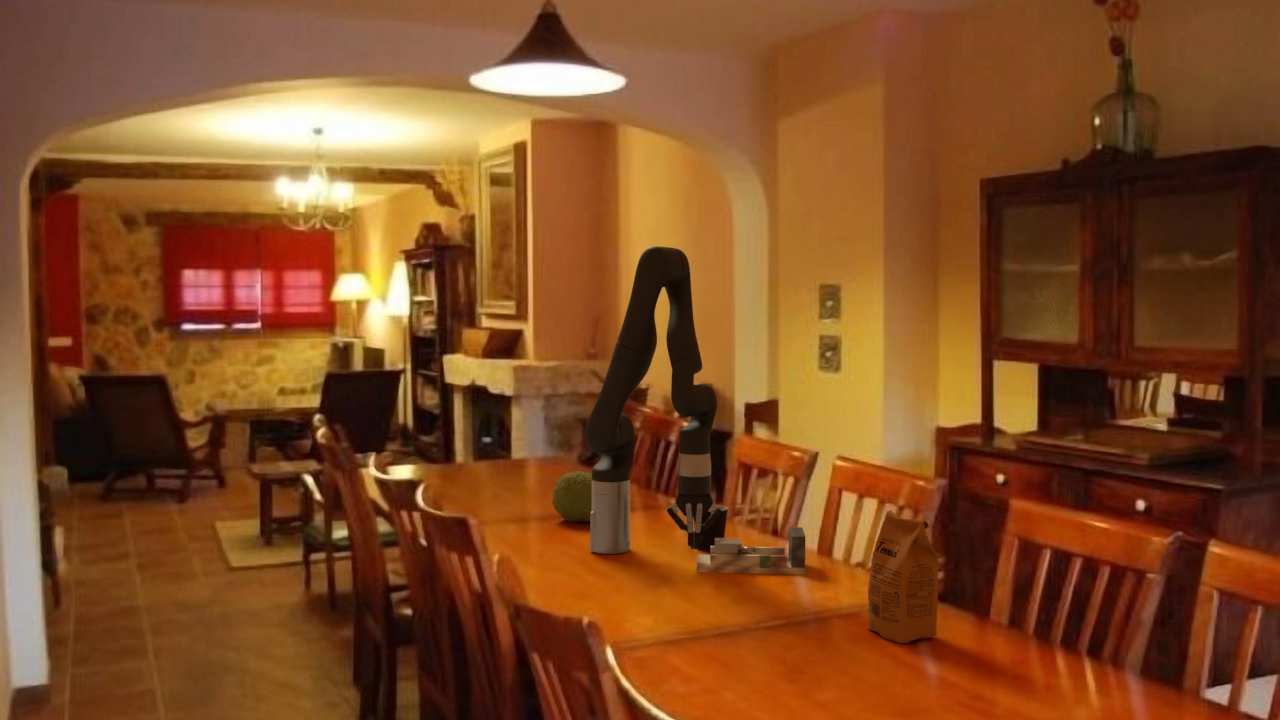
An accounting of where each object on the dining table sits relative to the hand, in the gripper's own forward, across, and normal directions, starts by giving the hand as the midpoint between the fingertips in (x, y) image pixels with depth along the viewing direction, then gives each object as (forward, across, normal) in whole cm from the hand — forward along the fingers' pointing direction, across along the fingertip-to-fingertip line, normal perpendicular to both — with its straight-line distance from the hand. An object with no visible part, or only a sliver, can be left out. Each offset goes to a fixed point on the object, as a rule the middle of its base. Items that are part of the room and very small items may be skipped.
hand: (694, 548), depth 259 cm
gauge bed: (+4, +13, 0) cm, 13 cm away
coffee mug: (+4, +4, +19) cm, 20 cm away
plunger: (+3, +9, -1) cm, 10 cm away
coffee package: (+4, +39, -49) cm, 63 cm away
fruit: (+4, -31, +48) cm, 58 cm away
